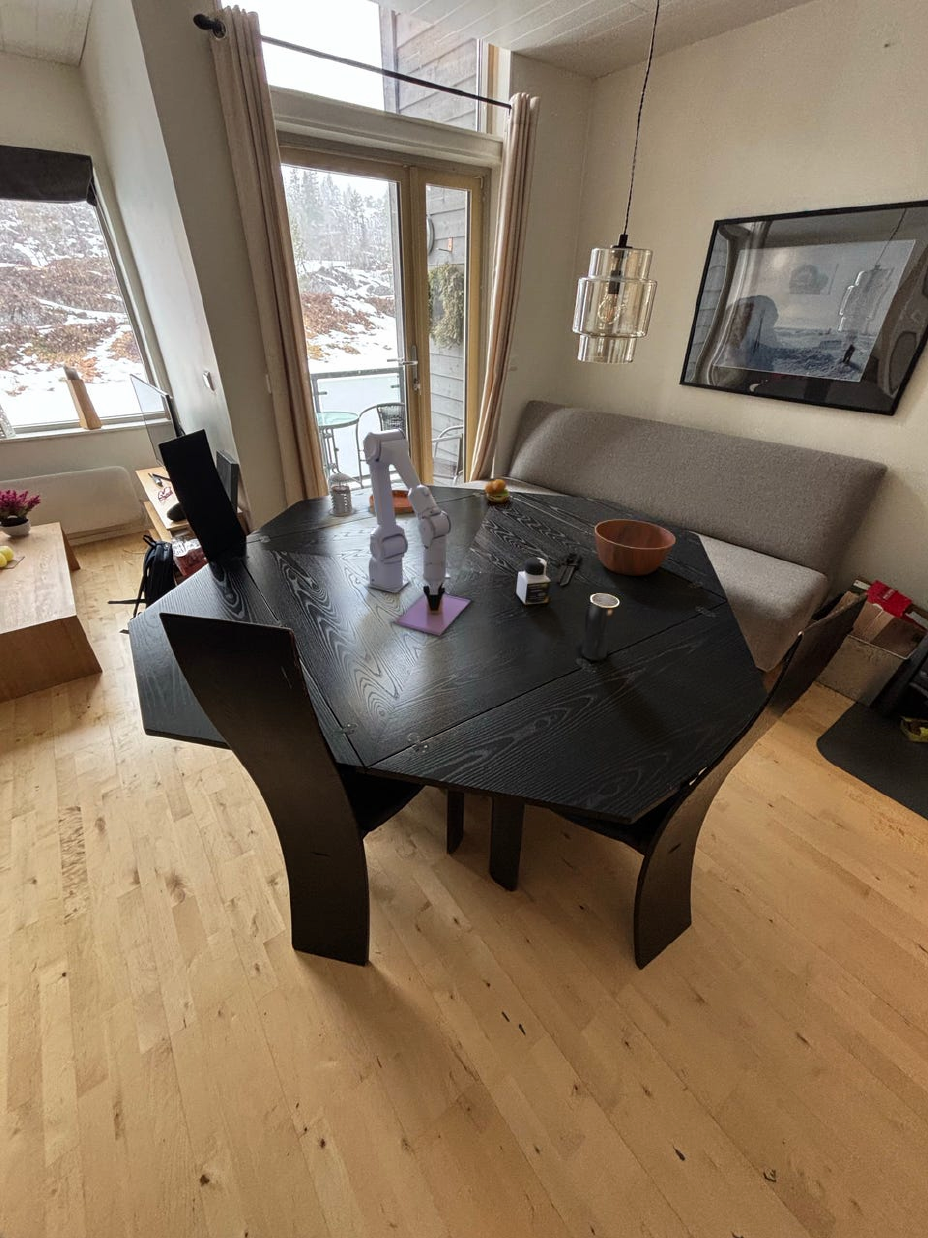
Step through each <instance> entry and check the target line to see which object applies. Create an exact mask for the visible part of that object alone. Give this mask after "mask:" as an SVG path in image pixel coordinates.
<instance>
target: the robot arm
mask: <svg viewBox="0 0 928 1238" xmlns="http://www.w3.org/2000/svg"><path fill="white" fill-rule="evenodd" d="M362 446H363V447H362V448H363V452H364V453H363V454H364V459H365V464H366V465H368V471H369V477H370V484H371V485H370V486H371V490H372V494H373V498H374V505H375V507H374V511H375V518H376V524H377V525H376V526H375V528H374V529H372V531H371V532H370V534H369V538H370V539H369V540H370V541H369V552H370V554H371V557H370V559H369V561H368V578H369V580H368V581H369V583H368V584H367V585H368V587H370V588H374V589H377V590H381V591H385V592H389V593H392V594H396V593H398V592H399V591H401V590H402V589H403V588H404V587H405V586H407V585H408V584H409V583H410V582H409V580H408V579H404V571H403V558H404V557H405V554H406V553H407V552H408V551H409V540H408V538H407V536H406V532H405V528H403V527H402V526H400V525H398V524H397V517H396V513H395V510H394V503H393V495H392V490H393V489H392V481H391V473H390V466H393V468H394V469H395V471H396V473H397V474H398V475H399V478H400V479H401V481H402V482H403V483H404V485H405V487H406V489H407V491H409V493H408V500H409V502H410V504H411V506H412V508H413V510H414V511H413V512H414V514H415V515H416V517H417V520H418V525H417V529H418V532H419V535H420V541H421V544H422V545H423V547H422V549H423V551H422V552H423V573H422V579H423V581H424V583H426V585H423V589H422V591H423V593H424V596H425V595H426V597H427V599H428V603H429V608H430V610H431V611H438V609H439V605H440V601H441V598H442V596H443V594H445V592H446V587H443V585H444V583H445V581H446V580H450V579H451V574H450V573H447V570H446V569H447V567H446V565H447V535H448V534H450V533H451V531H452V521H451V518H450V516H449V514H448V513H447V512H446V511H444V510H443V509H442V508H441V507H439V506H438V504H437V502H436V500H435V498H434V497H433V495H432V493H431V490H430V488H429V487H428V486H426V485H423V484H422V483H421V480H420V478H419V476H418V473H417V470H416V468H415V466H414V463H413V461H412V458H411V456H410V454H409V451H410V441H409V440H408V437H407V434H406V433H405V431H404V430H403V429H402V428H400V427H399V428H398V427H397V428H394V429H393V428H392V429H387V430H379V431H368V432H367V433H365V436H364V438H363V439H362ZM439 587H440V588H439Z"/></svg>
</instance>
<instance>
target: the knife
mask: <svg viewBox="0 0 928 1238" xmlns="http://www.w3.org/2000/svg"><path fill="white" fill-rule="evenodd" d="M580 560H581V554H580V553H577V552H575V551H568V552H567V553H565V554H564V555H563V559H562V560H558V566H560V567H559V569H558V572H557V574H556V576H555V578H554V580H556V581H557V582H558V583H559V586H563V585H566V584H568V583H569V580H570V578H571V576H572V574H573V571H574V569H579V563H580ZM569 562H571V563H569ZM568 563H569V565H568Z"/></svg>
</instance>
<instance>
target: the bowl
mask: <svg viewBox="0 0 928 1238" xmlns="http://www.w3.org/2000/svg"><path fill="white" fill-rule="evenodd" d="M594 541H595V548H596V553H597V556H598V559H599V561H600V563H601V564H602V565H603V566H604V567H605V568H607V569H608V570H610V571H611V572H614V573H617V574H620V575H624V576H632V577H636V576H637V577H640V576H646V575H649V574H651V573H653V572H655V571H656V570H657V569H659V568H660V566H661V565H662V564H663V563H664V561H665V560H666V559H667V558H668V556H669V554H670V553H671V551H672V549H673V547H674V545H675V543H676V537H675V535H674V534H673V533H672V532H671V531H670V530H668V529H666V528H664V527H661V526H660V525H657V524H654V523H650V522H647V521H641V520H634V519H610V520H604V521H601V522H599V523H598V524H596V525H595V527H594Z"/></svg>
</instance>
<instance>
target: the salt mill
mask: <svg viewBox="0 0 928 1238" xmlns="http://www.w3.org/2000/svg"><path fill="white" fill-rule="evenodd" d="M439 588H440V587H439ZM442 612H443V596H442V598H441V601H440V605H439V609H438V611H431V610H430V608H429V603H428V599H427V613H428V614H431V615H439V614H441V613H442Z"/></svg>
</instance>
